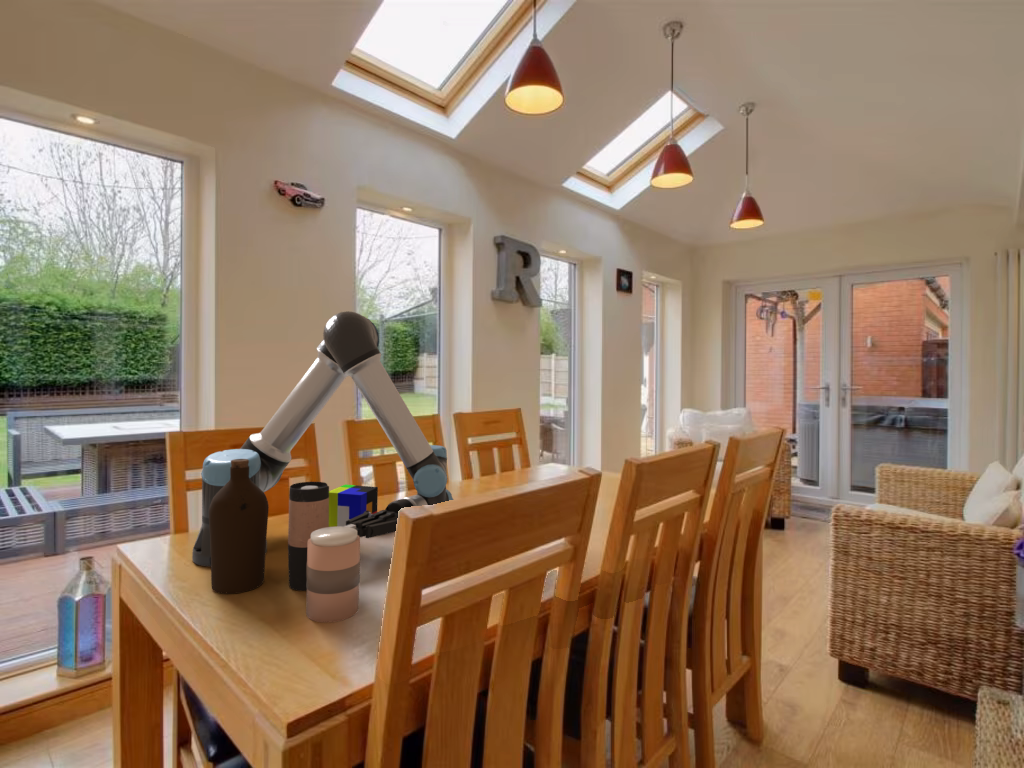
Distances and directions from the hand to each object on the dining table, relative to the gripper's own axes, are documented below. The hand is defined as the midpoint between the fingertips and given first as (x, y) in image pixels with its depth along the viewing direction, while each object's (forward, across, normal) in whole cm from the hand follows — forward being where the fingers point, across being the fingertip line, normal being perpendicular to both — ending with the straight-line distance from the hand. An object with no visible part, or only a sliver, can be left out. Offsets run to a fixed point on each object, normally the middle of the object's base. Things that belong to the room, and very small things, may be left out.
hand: (330, 538), depth 114 cm
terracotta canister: (+11, -13, -8) cm, 19 cm away
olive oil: (+13, +11, -8) cm, 19 cm away
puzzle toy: (-27, +23, -8) cm, 37 cm away
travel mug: (+5, 0, -8) cm, 10 cm away
